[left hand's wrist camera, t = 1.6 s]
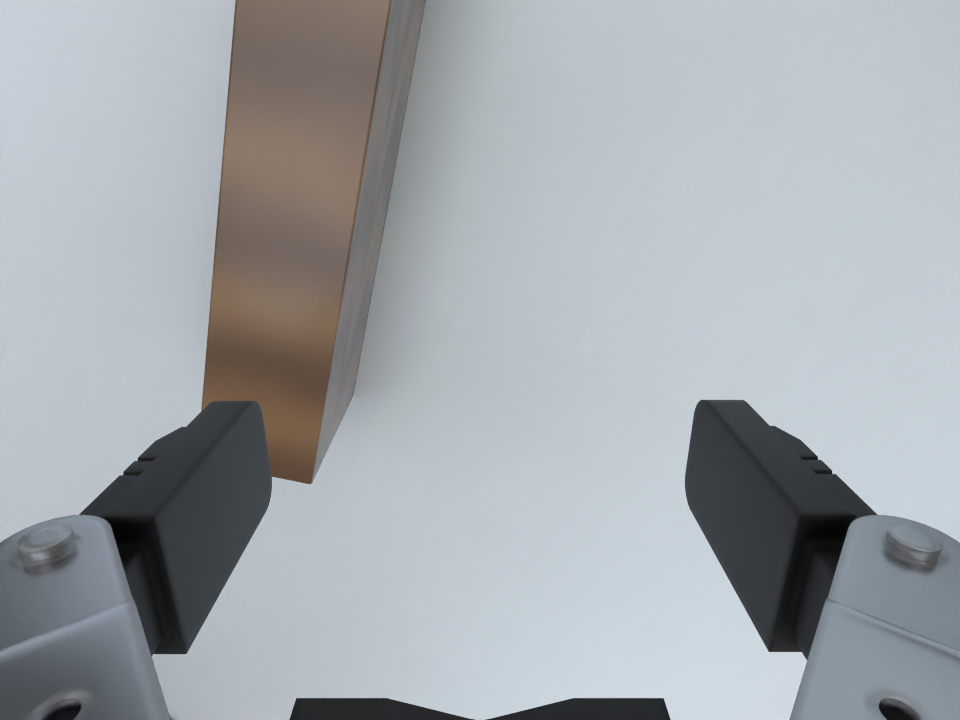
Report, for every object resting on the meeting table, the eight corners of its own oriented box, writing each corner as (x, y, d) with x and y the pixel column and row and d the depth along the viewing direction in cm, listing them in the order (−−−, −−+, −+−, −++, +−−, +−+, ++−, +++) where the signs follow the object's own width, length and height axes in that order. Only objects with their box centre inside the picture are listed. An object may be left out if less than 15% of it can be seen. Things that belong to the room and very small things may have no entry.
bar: (328, -110, 27) (253, -227, 18) (439, -78, 27) (420, -176, 18) (267, 378, 35) (196, 461, 26) (352, 397, 36) (311, 485, 27)
